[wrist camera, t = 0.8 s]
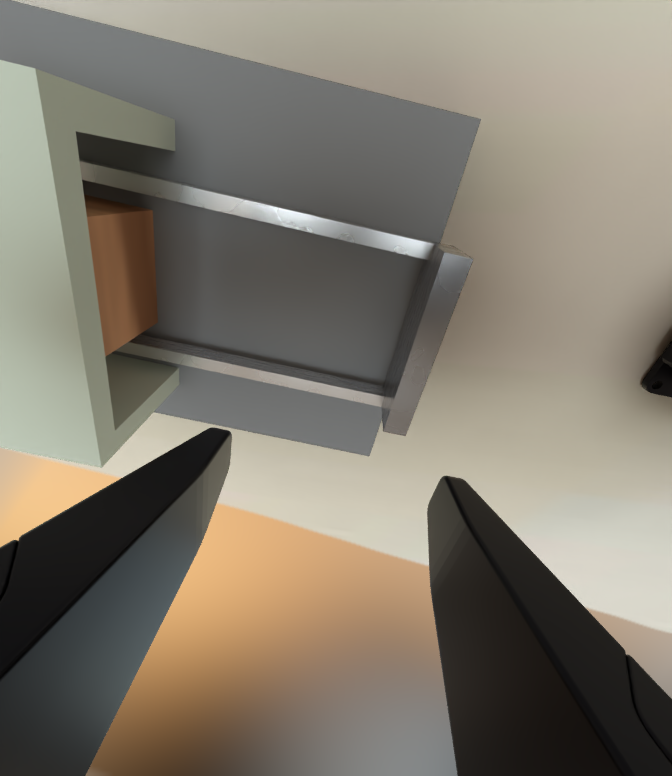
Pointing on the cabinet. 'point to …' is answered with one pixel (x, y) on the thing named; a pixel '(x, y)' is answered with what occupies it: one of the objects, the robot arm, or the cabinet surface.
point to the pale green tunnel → (62, 276)
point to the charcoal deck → (256, 238)
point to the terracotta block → (122, 269)
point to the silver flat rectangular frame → (437, 273)
